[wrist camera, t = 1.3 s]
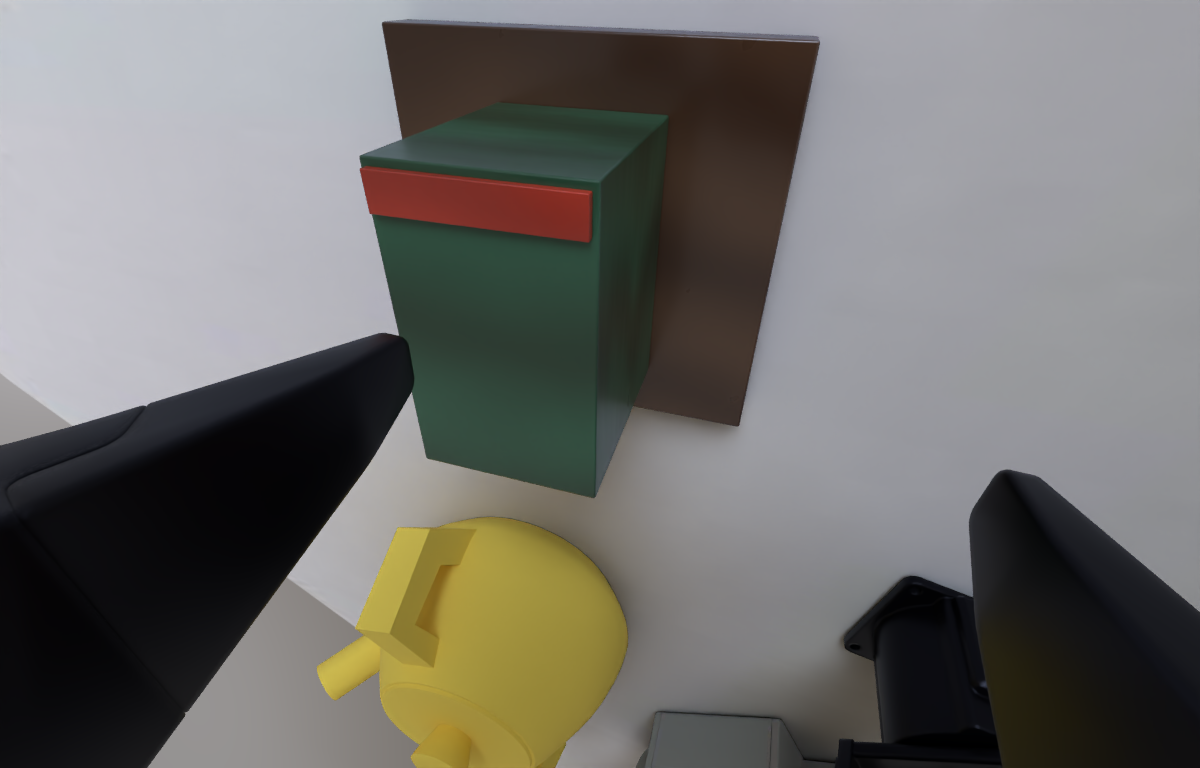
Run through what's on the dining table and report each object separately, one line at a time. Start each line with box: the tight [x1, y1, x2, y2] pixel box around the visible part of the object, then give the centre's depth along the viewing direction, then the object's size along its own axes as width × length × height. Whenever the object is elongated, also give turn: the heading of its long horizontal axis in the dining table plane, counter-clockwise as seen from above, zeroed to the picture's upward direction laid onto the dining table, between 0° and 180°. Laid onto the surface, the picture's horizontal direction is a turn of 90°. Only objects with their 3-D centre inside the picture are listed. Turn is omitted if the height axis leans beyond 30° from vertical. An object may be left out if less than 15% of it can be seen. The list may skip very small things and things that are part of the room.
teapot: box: [317, 517, 628, 768], centre depth 32 cm, size 20×18×11 cm
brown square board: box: [382, 19, 820, 426], centre depth 20 cm, size 13×13×2 cm
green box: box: [360, 102, 669, 498], centre depth 17 cm, size 9×6×7 cm, turn 0°
